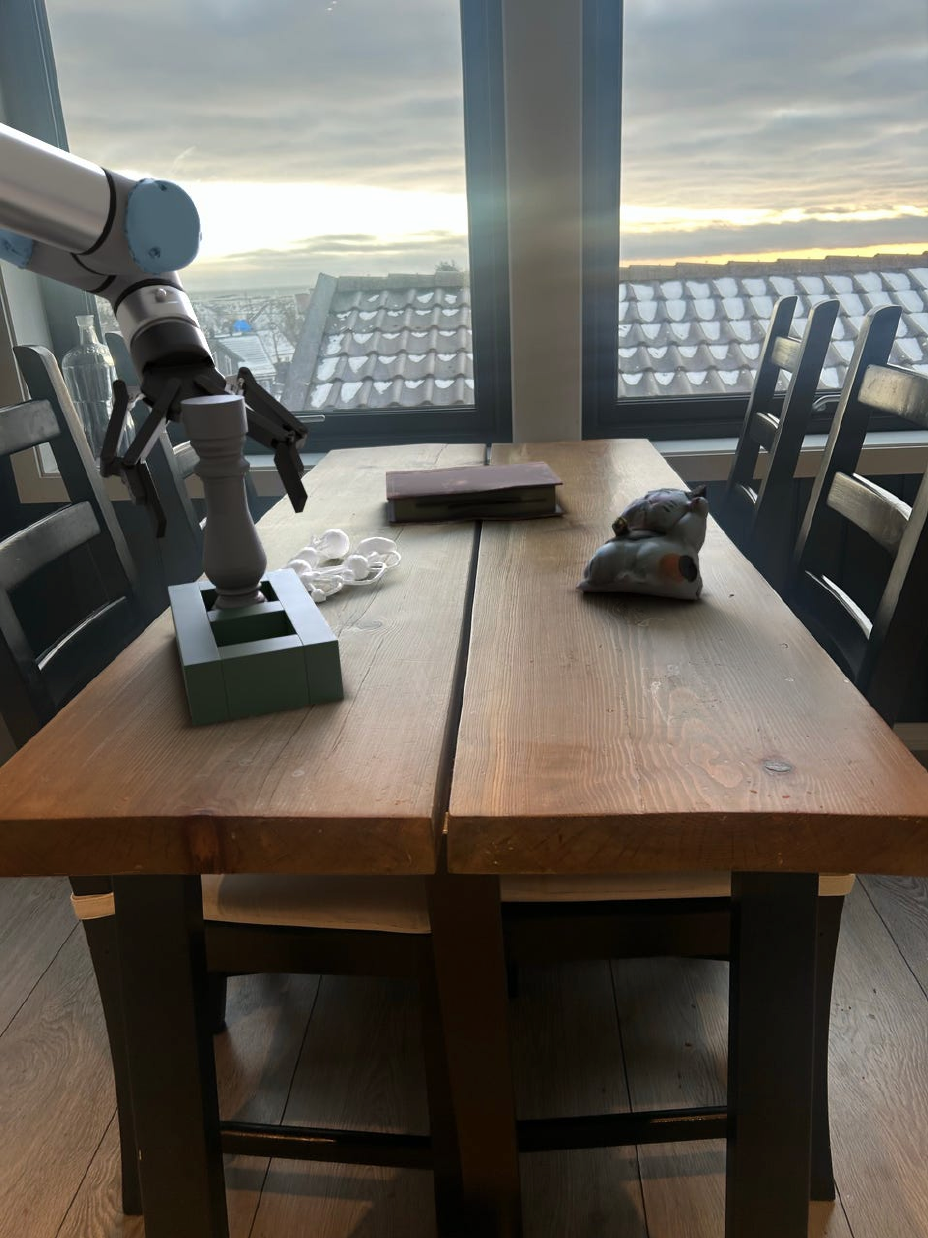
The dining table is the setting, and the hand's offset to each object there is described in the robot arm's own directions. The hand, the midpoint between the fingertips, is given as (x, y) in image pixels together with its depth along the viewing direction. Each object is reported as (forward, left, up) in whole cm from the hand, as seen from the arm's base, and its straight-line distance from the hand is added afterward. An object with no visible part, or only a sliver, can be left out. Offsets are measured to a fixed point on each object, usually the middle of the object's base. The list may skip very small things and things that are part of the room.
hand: (234, 517), depth 94 cm
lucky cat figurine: (+43, -1, -14) cm, 45 cm away
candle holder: (0, +2, -14) cm, 15 cm away
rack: (0, -3, -14) cm, 15 cm away
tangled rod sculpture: (+13, +20, -14) cm, 28 cm away
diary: (+39, +45, -14) cm, 61 cm away
